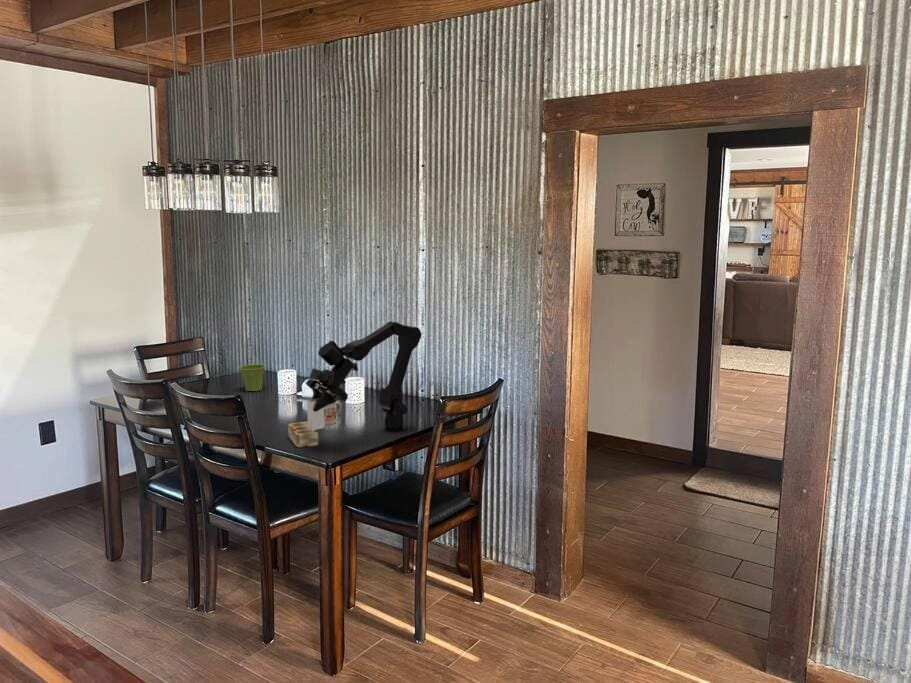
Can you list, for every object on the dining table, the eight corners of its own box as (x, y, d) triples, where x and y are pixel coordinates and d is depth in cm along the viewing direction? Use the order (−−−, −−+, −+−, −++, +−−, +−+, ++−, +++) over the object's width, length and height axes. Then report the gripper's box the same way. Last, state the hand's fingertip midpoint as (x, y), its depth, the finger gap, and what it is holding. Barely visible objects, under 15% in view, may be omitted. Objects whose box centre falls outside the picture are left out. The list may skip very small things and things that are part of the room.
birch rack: (308, 433, 264) (308, 419, 264) (318, 445, 251) (317, 430, 250) (288, 436, 262) (287, 421, 261) (297, 447, 248) (296, 432, 247)
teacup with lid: (321, 427, 273) (319, 397, 271) (308, 422, 279) (307, 393, 278) (347, 421, 281) (346, 392, 279) (335, 416, 287) (334, 388, 285)
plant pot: (240, 388, 337) (238, 365, 335) (266, 386, 341) (265, 363, 339) (240, 394, 326) (239, 369, 324) (267, 392, 330) (266, 368, 328)
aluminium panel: (320, 426, 249) (319, 397, 247) (324, 427, 247) (323, 399, 246) (308, 429, 246) (306, 400, 244) (312, 430, 244) (310, 401, 242)
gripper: (309, 356, 252) (282, 391, 247) (339, 363, 239) (311, 401, 233) (329, 374, 259) (303, 410, 253) (359, 383, 245) (332, 420, 240)
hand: (312, 410), depth 245 cm, fingers closed on aluminium panel, 2 cm apart
